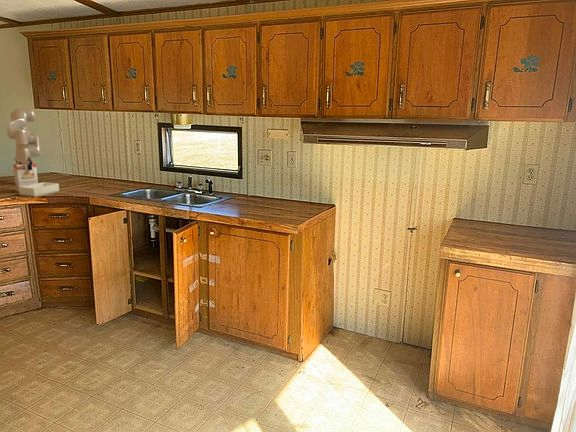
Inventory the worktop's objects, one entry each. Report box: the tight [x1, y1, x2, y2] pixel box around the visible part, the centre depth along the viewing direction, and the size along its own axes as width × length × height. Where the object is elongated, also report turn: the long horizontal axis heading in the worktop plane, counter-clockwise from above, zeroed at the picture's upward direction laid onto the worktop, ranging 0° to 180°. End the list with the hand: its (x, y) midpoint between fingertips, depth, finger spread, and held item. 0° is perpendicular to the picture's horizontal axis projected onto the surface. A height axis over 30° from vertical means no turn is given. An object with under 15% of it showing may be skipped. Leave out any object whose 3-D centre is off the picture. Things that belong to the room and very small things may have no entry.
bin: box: [18, 181, 60, 198], centre depth 319 cm, size 14×22×6 cm, turn 162°
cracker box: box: [12, 162, 39, 193], centre depth 323 cm, size 14×6×21 cm, turn 146°
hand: (25, 169), depth 321 cm, fingers open, 9 cm apart
